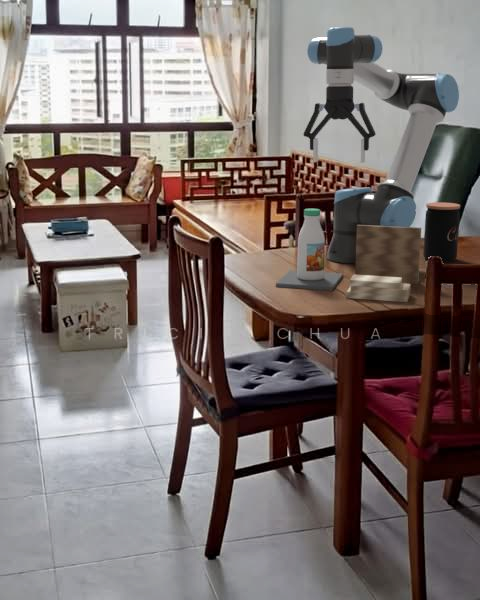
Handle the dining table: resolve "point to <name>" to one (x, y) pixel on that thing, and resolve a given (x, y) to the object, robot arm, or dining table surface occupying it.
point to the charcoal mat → (324, 284)
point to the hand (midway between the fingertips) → (338, 162)
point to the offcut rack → (385, 263)
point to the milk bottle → (311, 247)
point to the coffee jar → (441, 230)
